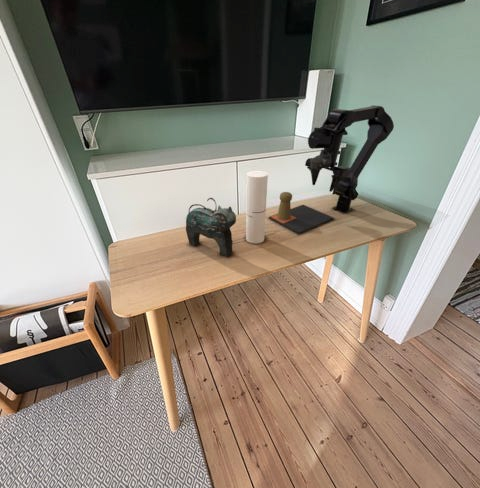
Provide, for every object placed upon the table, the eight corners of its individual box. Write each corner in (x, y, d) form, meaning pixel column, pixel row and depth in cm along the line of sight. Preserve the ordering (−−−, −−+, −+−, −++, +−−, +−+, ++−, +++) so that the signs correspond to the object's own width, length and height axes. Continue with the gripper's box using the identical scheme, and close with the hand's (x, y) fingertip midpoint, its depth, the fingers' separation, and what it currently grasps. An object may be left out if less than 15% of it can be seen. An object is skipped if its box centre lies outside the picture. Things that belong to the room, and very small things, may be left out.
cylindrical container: (263, 244, 98) (266, 177, 82) (244, 242, 99) (244, 176, 84) (265, 235, 103) (269, 171, 88) (247, 233, 104) (248, 170, 89)
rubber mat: (302, 206, 125) (303, 204, 124) (333, 219, 113) (333, 217, 113) (268, 218, 115) (269, 216, 114) (298, 234, 103) (298, 232, 103)
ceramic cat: (238, 252, 93) (237, 199, 81) (228, 261, 89) (225, 207, 77) (195, 238, 102) (188, 189, 89) (184, 246, 97) (175, 195, 85)
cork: (286, 221, 110) (288, 196, 103) (274, 217, 113) (276, 193, 106) (293, 216, 114) (296, 192, 107) (281, 213, 117) (283, 189, 110)
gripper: (299, 144, 101) (292, 184, 110) (338, 154, 89) (326, 198, 98) (318, 143, 106) (310, 181, 116) (357, 152, 94) (344, 194, 103)
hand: (321, 188), depth 108 cm, fingers open, 9 cm apart
